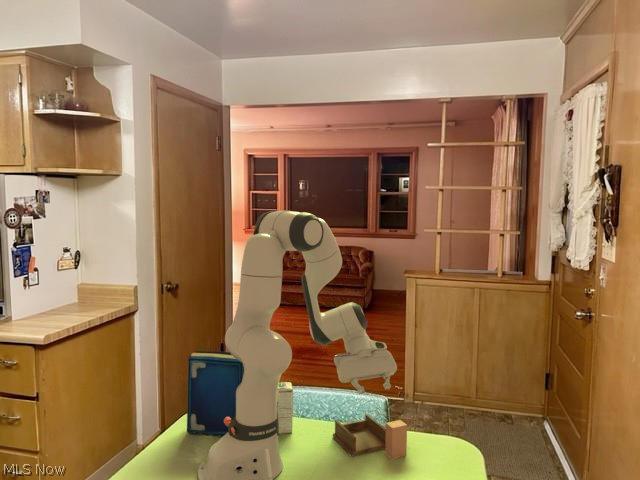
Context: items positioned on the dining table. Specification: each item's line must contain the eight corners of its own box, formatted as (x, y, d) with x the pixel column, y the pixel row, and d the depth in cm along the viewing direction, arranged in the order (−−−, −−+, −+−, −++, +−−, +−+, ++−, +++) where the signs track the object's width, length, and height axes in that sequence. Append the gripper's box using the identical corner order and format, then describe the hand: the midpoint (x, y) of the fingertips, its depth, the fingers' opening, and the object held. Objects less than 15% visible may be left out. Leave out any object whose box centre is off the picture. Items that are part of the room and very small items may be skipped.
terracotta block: (391, 458, 127) (392, 428, 127) (385, 453, 130) (385, 422, 130) (406, 455, 129) (407, 424, 129) (399, 449, 132) (400, 419, 132)
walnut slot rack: (351, 456, 128) (351, 438, 128) (332, 437, 139) (333, 420, 139) (389, 447, 134) (389, 430, 133) (369, 429, 145) (369, 413, 144)
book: (259, 428, 145) (259, 352, 143) (253, 439, 138) (253, 359, 136) (194, 424, 147) (193, 349, 146) (185, 435, 140) (185, 356, 138)
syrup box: (273, 426, 146) (273, 382, 146) (291, 424, 148) (291, 381, 147) (274, 434, 141) (274, 389, 140) (293, 432, 142) (293, 388, 141)
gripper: (335, 349, 142) (349, 391, 133) (389, 342, 150) (406, 381, 142) (328, 359, 146) (342, 400, 138) (382, 352, 155) (398, 390, 146)
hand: (375, 390), depth 140 cm, fingers open, 8 cm apart
